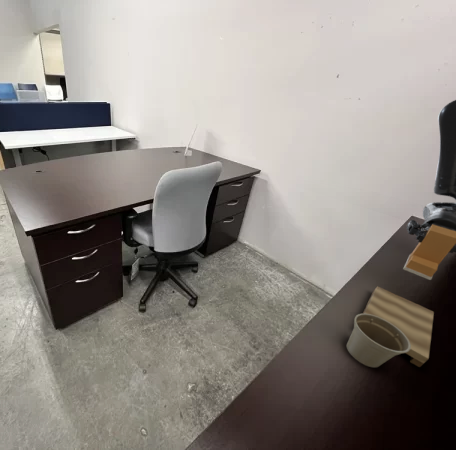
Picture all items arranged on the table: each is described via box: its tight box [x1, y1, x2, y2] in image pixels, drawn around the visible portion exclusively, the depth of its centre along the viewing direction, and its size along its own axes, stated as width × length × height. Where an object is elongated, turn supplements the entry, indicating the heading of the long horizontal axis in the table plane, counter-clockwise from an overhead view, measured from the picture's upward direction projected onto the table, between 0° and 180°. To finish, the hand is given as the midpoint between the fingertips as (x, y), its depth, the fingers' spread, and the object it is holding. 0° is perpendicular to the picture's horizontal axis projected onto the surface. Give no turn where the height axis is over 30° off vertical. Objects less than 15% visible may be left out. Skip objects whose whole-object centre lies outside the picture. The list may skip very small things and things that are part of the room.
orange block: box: [402, 225, 456, 281], centre depth 64 cm, size 10×5×11 cm, turn 130°
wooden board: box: [362, 286, 435, 368], centre depth 62 cm, size 20×12×4 cm, turn 131°
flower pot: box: [346, 313, 411, 368], centre depth 53 cm, size 9×9×9 cm
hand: (437, 244), depth 62 cm, fingers closed on orange block, 5 cm apart
